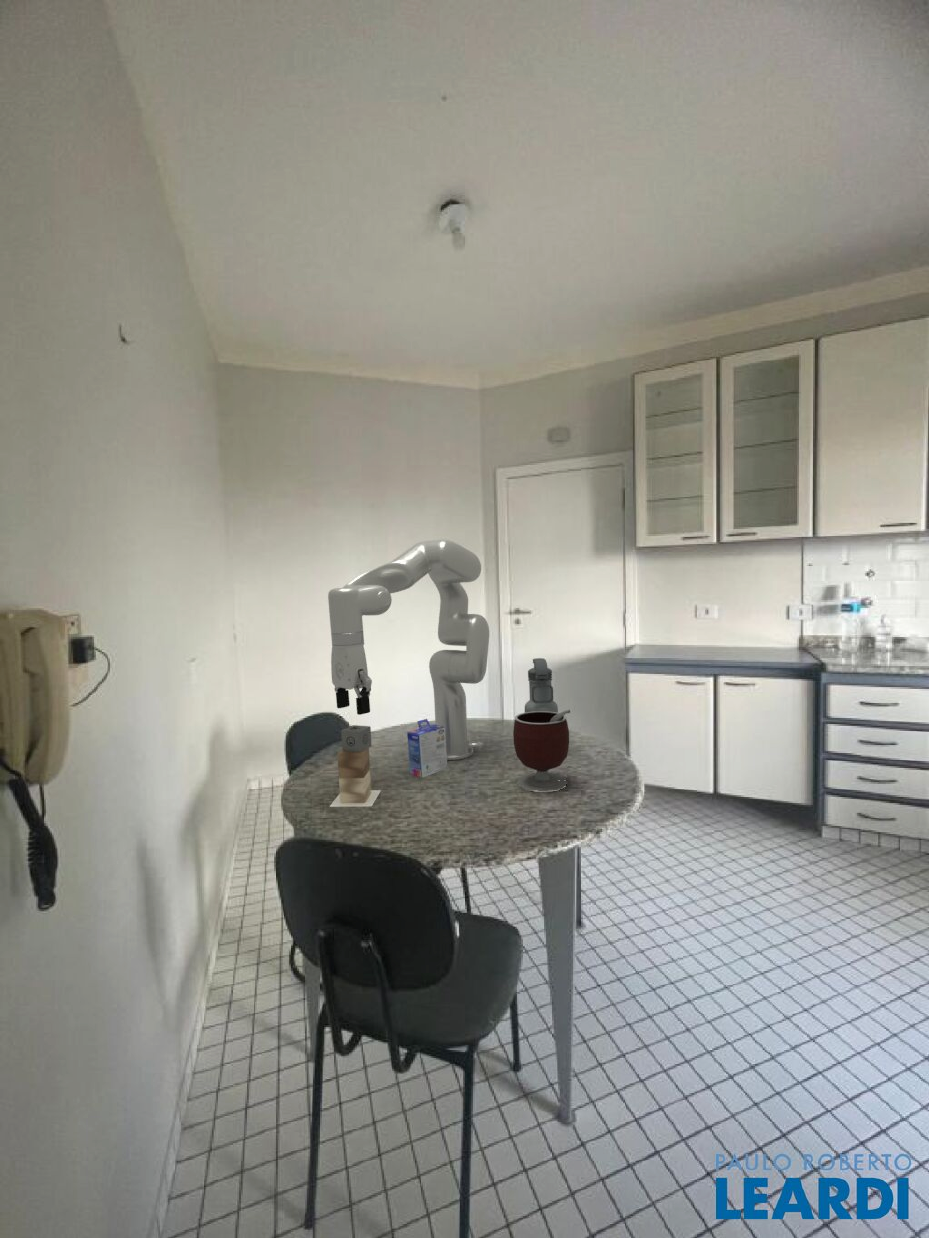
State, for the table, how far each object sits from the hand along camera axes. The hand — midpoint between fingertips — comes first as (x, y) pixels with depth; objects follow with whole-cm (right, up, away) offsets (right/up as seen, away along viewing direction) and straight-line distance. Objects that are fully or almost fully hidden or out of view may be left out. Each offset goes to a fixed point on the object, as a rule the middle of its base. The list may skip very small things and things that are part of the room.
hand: (353, 710), depth 133 cm
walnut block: (0, -15, 0) cm, 15 cm away
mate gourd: (+47, -20, +6) cm, 51 cm away
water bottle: (+50, -18, +31) cm, 62 cm away
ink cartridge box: (+17, -20, +19) cm, 32 cm away
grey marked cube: (+1, -10, 0) cm, 10 cm away
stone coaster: (+1, -22, +1) cm, 22 cm away
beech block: (+1, -21, +1) cm, 21 cm away
